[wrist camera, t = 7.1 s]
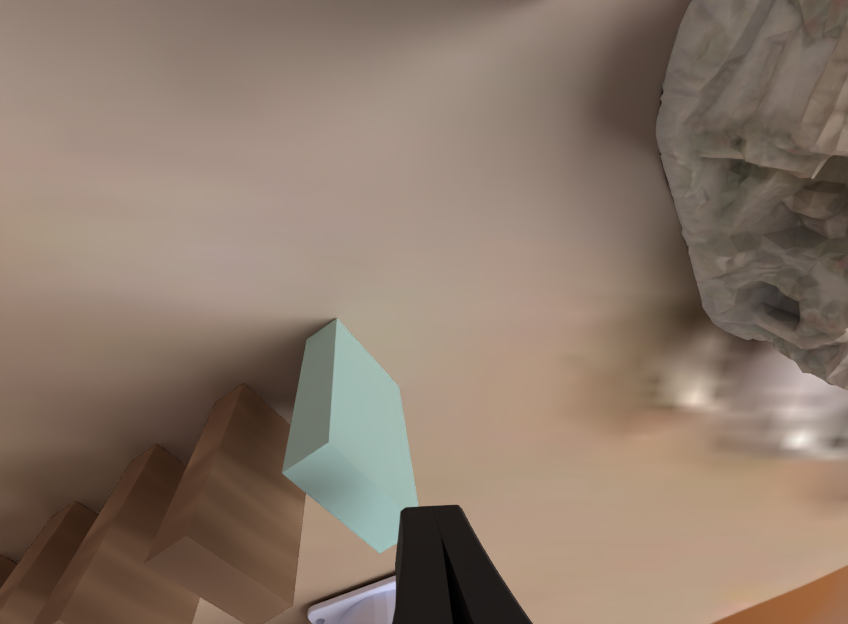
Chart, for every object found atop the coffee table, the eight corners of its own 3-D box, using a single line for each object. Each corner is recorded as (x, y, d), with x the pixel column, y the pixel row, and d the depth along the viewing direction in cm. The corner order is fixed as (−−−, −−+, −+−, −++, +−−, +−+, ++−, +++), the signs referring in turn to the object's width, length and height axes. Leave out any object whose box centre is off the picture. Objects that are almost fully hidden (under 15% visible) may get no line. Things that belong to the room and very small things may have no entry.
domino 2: (156, 443, 20) (58, 620, 14) (229, 498, 22) (176, 676, 15) (130, 462, 21) (20, 645, 14) (204, 514, 22) (140, 698, 16)
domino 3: (243, 383, 20) (186, 535, 13) (311, 444, 22) (292, 605, 15) (215, 403, 20) (144, 563, 13) (284, 462, 22) (254, 628, 15)
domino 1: (75, 500, 21) (-58, 696, 14) (153, 548, 23) (68, 741, 16) (50, 518, 21) (-93, 718, 14) (129, 564, 23) (35, 760, 16)
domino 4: (337, 318, 19) (328, 442, 12) (399, 386, 21) (422, 527, 14) (306, 339, 19) (281, 473, 12) (370, 405, 21) (380, 553, 14)
